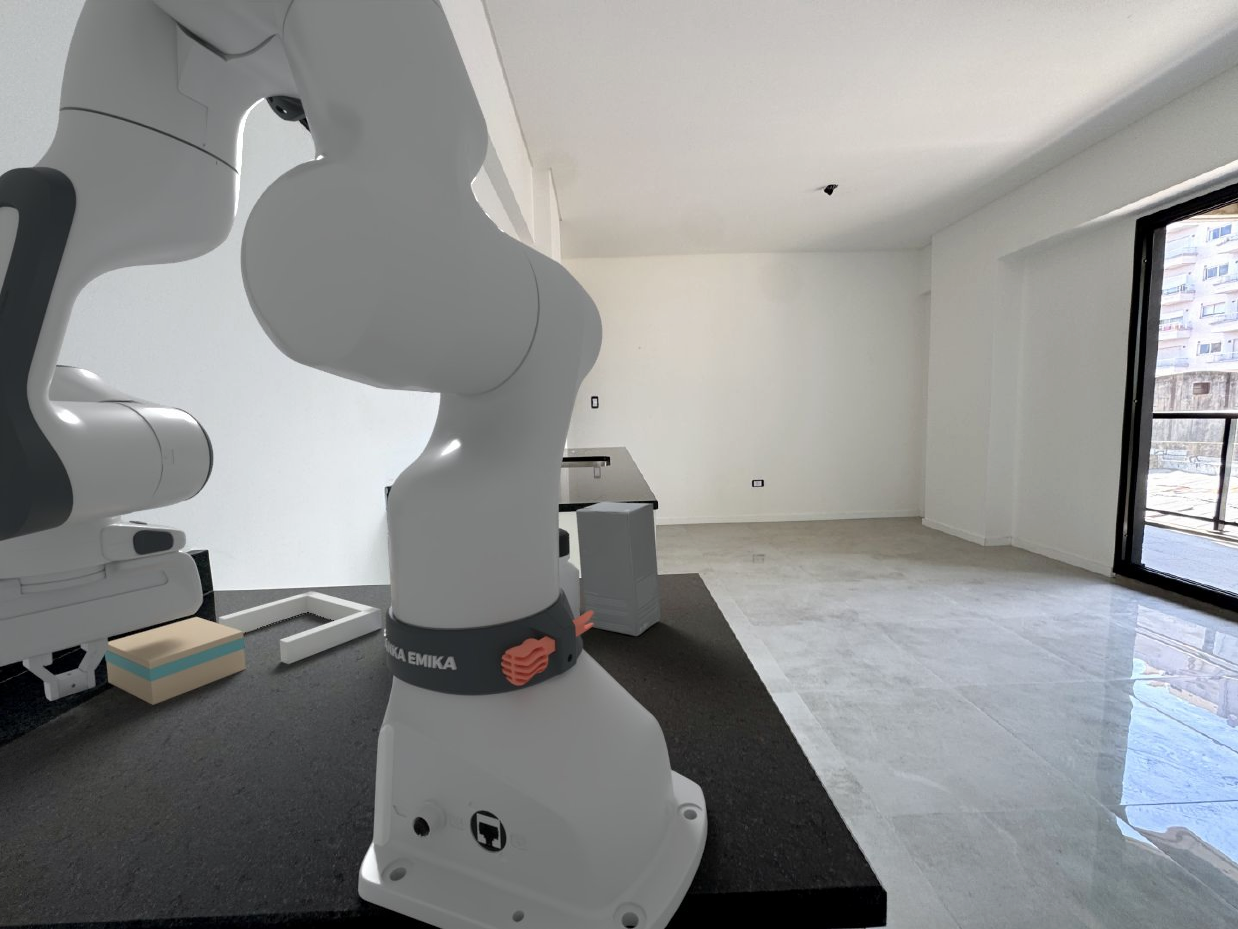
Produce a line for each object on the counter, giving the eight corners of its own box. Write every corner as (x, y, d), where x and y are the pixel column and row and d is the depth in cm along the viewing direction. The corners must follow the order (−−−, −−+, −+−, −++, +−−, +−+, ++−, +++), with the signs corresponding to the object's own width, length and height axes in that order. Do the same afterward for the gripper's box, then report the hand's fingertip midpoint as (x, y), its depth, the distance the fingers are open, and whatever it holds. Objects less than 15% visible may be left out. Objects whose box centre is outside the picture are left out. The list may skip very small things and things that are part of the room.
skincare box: (661, 621, 67) (660, 502, 66) (633, 641, 61) (631, 510, 60) (608, 610, 72) (605, 498, 70) (577, 627, 66) (574, 505, 64)
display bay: (381, 627, 67) (380, 609, 66) (288, 664, 57) (286, 642, 56) (312, 607, 75) (311, 591, 74) (220, 636, 65) (218, 617, 64)
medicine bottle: (569, 604, 74) (566, 523, 73) (581, 622, 67) (578, 532, 66) (519, 610, 72) (516, 527, 71) (526, 629, 65) (523, 537, 64)
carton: (246, 671, 56) (243, 631, 56) (152, 708, 49) (148, 662, 48) (199, 653, 61) (196, 616, 60) (107, 684, 53) (103, 643, 53)
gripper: (-145, 583, 36) (-119, 769, 37) (204, 529, 54) (214, 656, 55) (-154, 571, 39) (-131, 743, 40) (178, 524, 57) (188, 644, 58)
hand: (71, 692), depth 48 cm, fingers closed
